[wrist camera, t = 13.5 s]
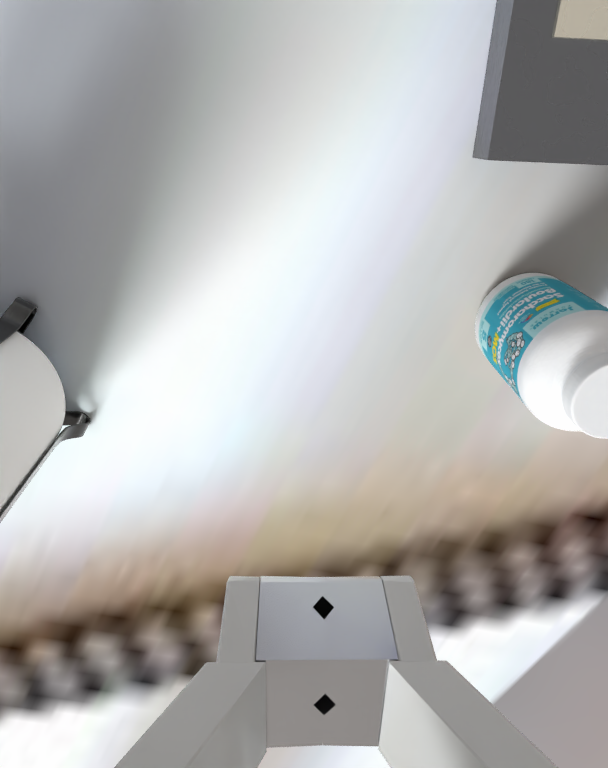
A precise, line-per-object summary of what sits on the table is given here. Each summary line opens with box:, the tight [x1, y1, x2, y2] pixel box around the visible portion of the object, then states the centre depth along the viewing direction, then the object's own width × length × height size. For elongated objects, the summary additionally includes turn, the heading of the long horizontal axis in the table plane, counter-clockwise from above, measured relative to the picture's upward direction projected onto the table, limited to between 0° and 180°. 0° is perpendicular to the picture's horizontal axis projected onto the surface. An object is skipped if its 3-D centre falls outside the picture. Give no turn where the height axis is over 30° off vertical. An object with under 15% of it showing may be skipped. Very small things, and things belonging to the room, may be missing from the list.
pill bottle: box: [475, 273, 608, 438], centre depth 35 cm, size 8×7×14 cm
